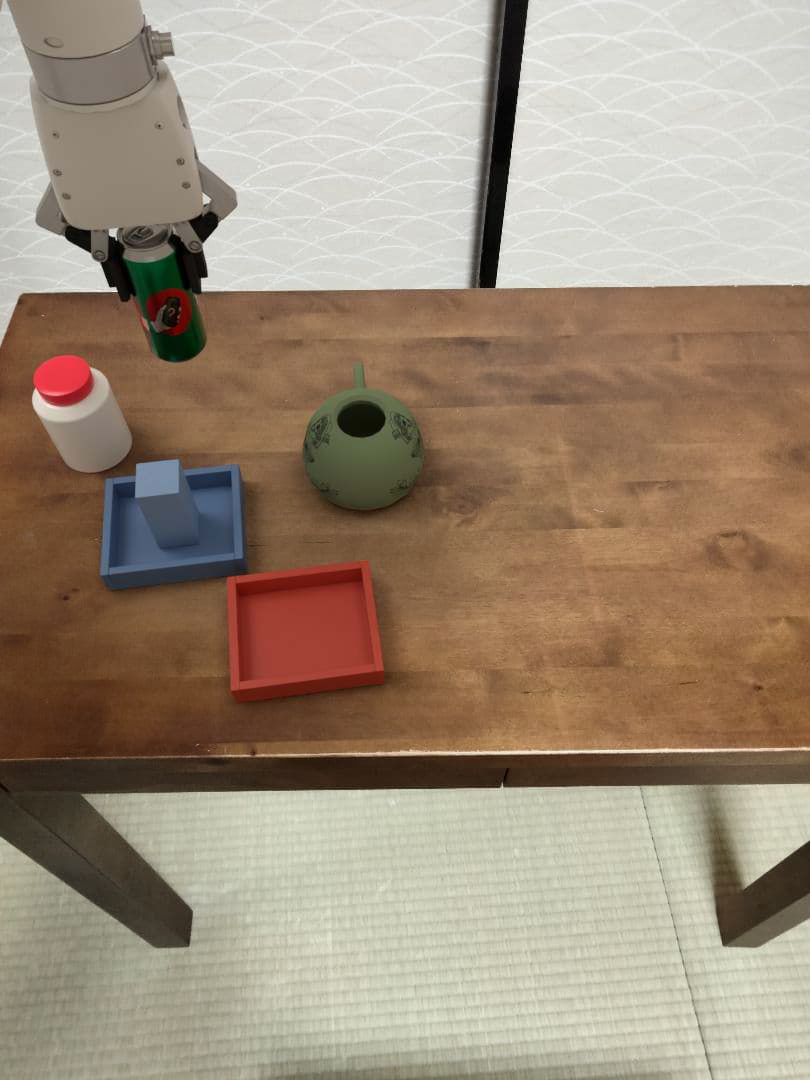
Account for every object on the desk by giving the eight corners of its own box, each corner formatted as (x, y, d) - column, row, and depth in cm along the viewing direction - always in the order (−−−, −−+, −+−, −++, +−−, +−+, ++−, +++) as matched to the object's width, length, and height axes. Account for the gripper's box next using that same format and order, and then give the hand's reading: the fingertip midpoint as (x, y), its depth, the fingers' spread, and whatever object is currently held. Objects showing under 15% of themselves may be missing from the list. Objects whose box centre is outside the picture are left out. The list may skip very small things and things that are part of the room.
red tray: (236, 703, 74) (230, 691, 72) (232, 592, 80) (226, 577, 78) (384, 683, 75) (384, 670, 73) (369, 575, 81) (368, 559, 79)
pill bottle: (56, 429, 91) (17, 358, 82) (125, 410, 93) (94, 339, 83) (66, 481, 87) (26, 413, 78) (138, 461, 89) (107, 392, 79)
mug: (429, 515, 85) (431, 464, 78) (305, 522, 85) (295, 471, 77) (417, 399, 94) (418, 344, 86) (304, 405, 93) (296, 350, 86)
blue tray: (109, 590, 80) (99, 575, 78) (114, 495, 86) (105, 478, 84) (247, 573, 81) (242, 558, 79) (243, 480, 87) (238, 463, 85)
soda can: (219, 339, 73) (191, 223, 63) (184, 374, 71) (148, 260, 61) (175, 318, 75) (141, 202, 64) (139, 352, 72) (97, 237, 62)
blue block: (159, 549, 82) (134, 497, 75) (160, 516, 84) (136, 463, 77) (199, 544, 83) (178, 492, 75) (199, 512, 85) (178, 458, 77)
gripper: (224, 19, 54) (262, 247, 70) (-41, 38, 53) (58, 267, 68) (230, 79, 51) (269, 307, 66) (-56, 102, 49) (52, 330, 64)
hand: (161, 285), depth 67 cm, fingers closed on soda can, 5 cm apart
